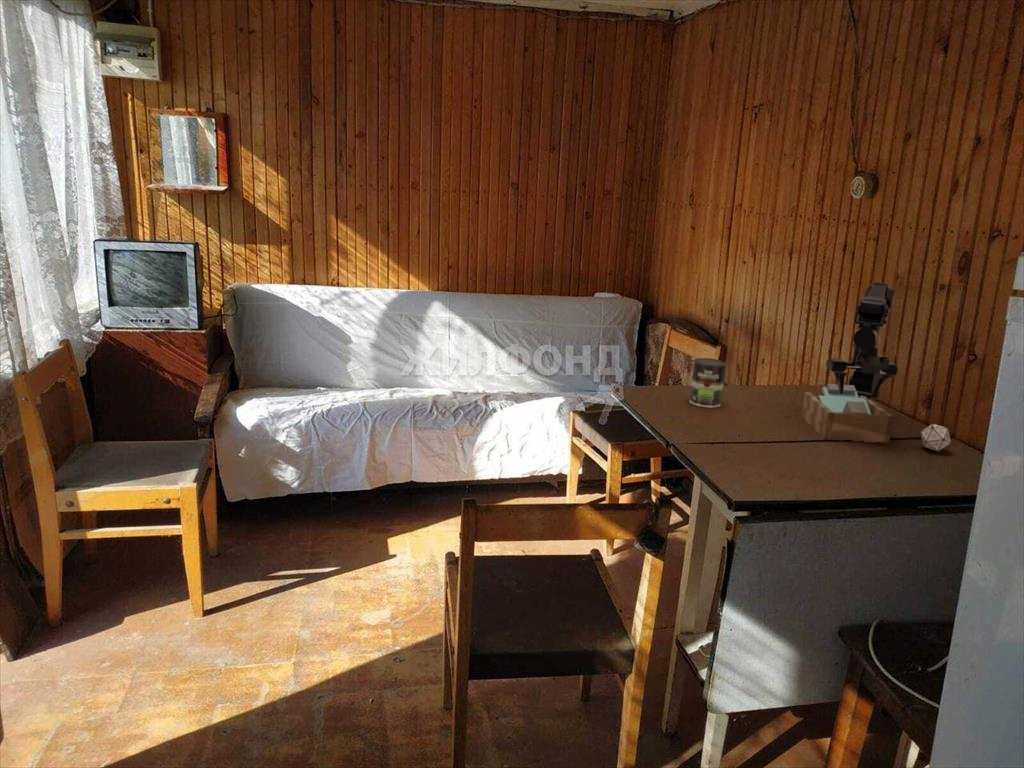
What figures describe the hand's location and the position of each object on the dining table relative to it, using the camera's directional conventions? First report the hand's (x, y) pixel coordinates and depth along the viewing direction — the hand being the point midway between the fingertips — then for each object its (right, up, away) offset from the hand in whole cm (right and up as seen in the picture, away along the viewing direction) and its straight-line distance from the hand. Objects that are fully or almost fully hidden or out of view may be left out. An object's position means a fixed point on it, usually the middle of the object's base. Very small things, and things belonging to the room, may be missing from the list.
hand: (856, 394), depth 229 cm
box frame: (0, -11, +8) cm, 14 cm away
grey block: (0, -8, +3) cm, 9 cm away
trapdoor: (0, -5, +8) cm, 9 cm away
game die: (+19, -16, -6) cm, 26 cm away
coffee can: (-37, -3, +28) cm, 47 cm away
